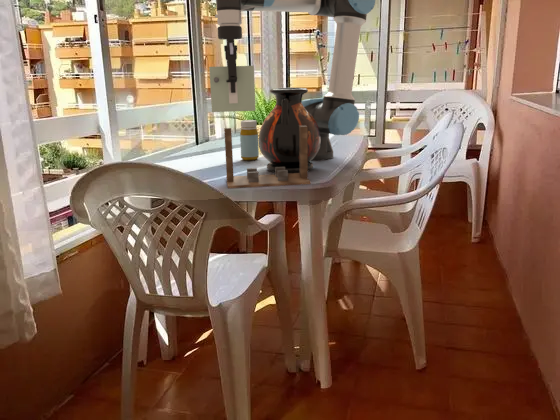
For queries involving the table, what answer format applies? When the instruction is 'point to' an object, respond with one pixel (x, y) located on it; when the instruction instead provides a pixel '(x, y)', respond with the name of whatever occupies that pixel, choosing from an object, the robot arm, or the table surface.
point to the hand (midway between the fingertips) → (233, 102)
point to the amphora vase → (288, 131)
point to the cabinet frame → (280, 173)
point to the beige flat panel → (222, 90)
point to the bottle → (249, 140)
